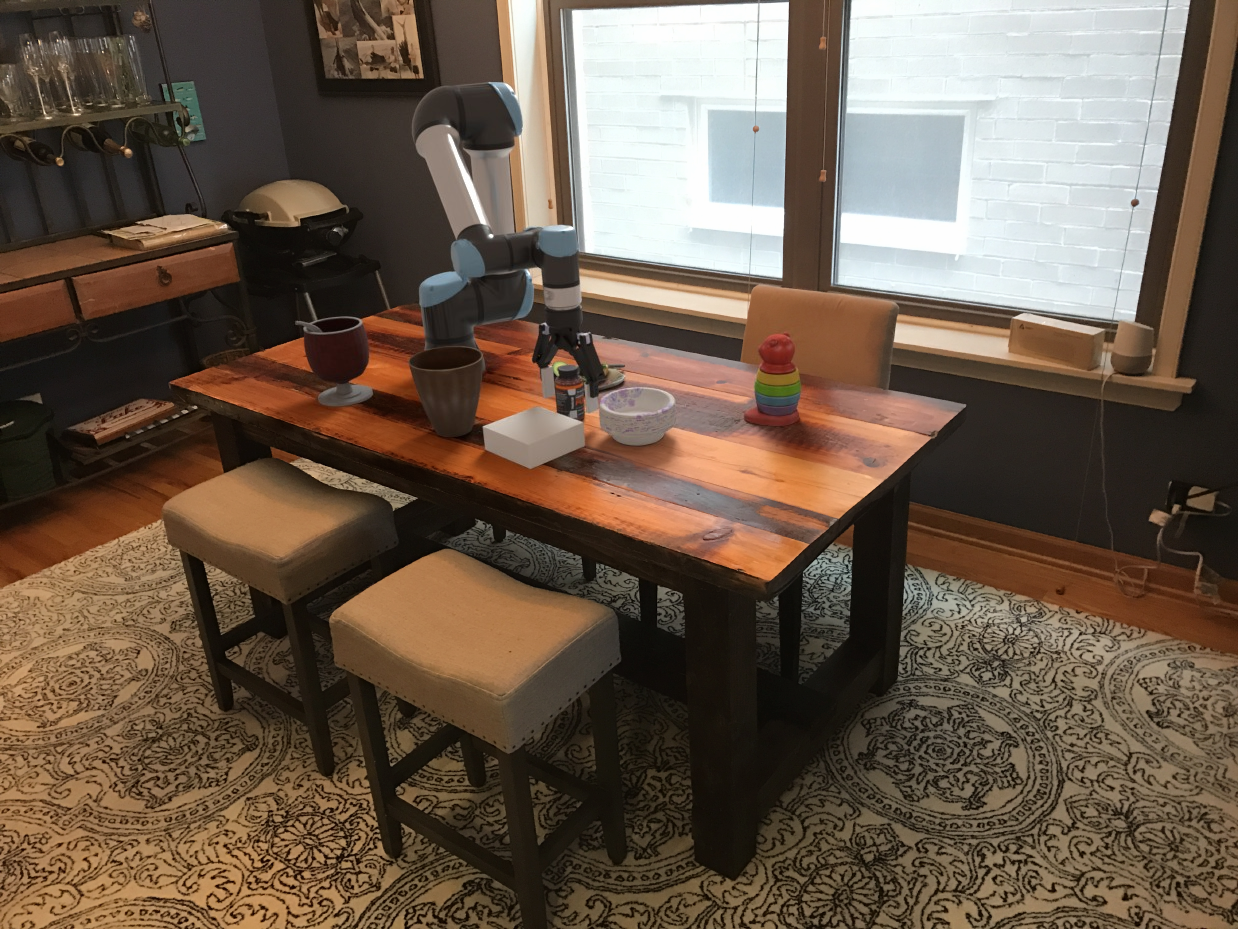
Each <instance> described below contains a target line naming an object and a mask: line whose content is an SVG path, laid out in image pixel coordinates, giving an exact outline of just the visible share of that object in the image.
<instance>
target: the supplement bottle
mask: <svg viewBox="0 0 1238 929" xmlns="http://www.w3.org/2000/svg"><path fill="white" fill-rule="evenodd" d="M577 366H578V365H574V364H568V365H563V366H560V367H559V368H558V374H559V376H558V377H557V378H556V379H555V395H554V396H555V405H556V409H555V410H556V413H559V414H561V415H564V416H567V417H570V418H573V419H575V420H578V421H582V420H583V419H585V417H586V416H585V415H586V414H585V413H586V406H585V394H584V390H583V379H582V377H581V376H580V375H579V374H578V368H577Z"/></svg>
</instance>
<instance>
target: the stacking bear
mask: <svg viewBox="0 0 1238 929" xmlns="http://www.w3.org/2000/svg"><path fill="white" fill-rule="evenodd" d="M795 351H796V346H795V342H794V341H793V340H792V338H791V336H790V334H789V333H788V332H787V331H784V332H783V333H782V334H781V333H775V334H771V335H769V336H767V337H766V338H765V339H764V341H763V342H762V343H761V344H760V345H759V346H758V350H757V352H758V355H759V357H760V359H761V360H762V362H760V364H759V366H758V370H757V373H756V378H755V380H754V387H753V388H754V392H753V393H754V397H755V404H756V407H753V408H750V409H748V410H747V411H746V412H744V415H743V419H744V421H745V422H749V423H751V424H755V425H760V426H767V425H768V426H769V427H784V426H788V425H792V424H795V423H796V422H798V421H799V419H800V412H799V410H798V405H799V401H800V399H801V394H802V382H801V379H800V371H799V369H798V367H797V366H796V364H795V363H794V362H793V358H794V356H795V353H796V352H795Z"/></svg>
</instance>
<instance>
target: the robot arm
mask: <svg viewBox="0 0 1238 929" xmlns="http://www.w3.org/2000/svg"><path fill="white" fill-rule="evenodd" d="M523 123H524V122H523V114H522V109H521V106H520V103H519V100H518V98H517V95H516V93H515V91H514V90H513V88H512V87H511V86H510V85H509V84H508V83H505V82H502V81H500V82H499V81H498V82H491V81H487V82H484V81H483V82H476V83H466V84H455V85H443V86H437V87H435V88H434V89H432V90H430V91H428V93H426V94H425V95H424V96H423V97H422V99H421V100H420V101H419V102H418V105H417V106H416V108H415V111H414V114H413V117H412V122H411V136H412V140H413V143H414V146H415V149H416V151H417V154H419V156H420V157H422V158H423V159H425V161H426V163H427V168H428V169H429V172H430V175H431V177H432V180H433V183H434V185H435V187H436V190H437V193H438V195H439V196H438V197H439V198H440V201H441V203H442V206H443V209H444V211H445V214H446V216H447V220H448V222H449V224H450V227H451V229H452V232H453V234H454V237H455V241H453V242H452V243H451V246H450V258H451V262H452V267H453V270H454V271H446V272H441V273H438V274H435V275H433V276H429V277H428V278H426V279H424V281H422V282H421V283H420V285H419V287H418V295H419V306H420V312H421V318H422V326H423V334H424V339H425V346H424V350H428V349H432V348H438V347H447V346H464V347H471V348H475V349H478V350H480V351H481V349H480V347H479V345H478V343H477V340H476V338H475V332H474V327H477V326H482V325H483V326H484V325H489V324H494V323H500V322H501V323H502V322H507V321H508V322H511V321H514V320H516V319H523V318H525V317H526V316H528V314H530V311H531V310H532V309H533V308H532V307H533V305H534V296H535V294H534V293H535V289H534V288H535V287H534V283H533V277H532V275H531V273H530V271H529V270H530V269H540V271H541V282H542V290H543V303H544V305H545V307H544V319H545V322H543V323H540V324H538V336H537V339H536V343H535V346H534V350H533V354H532V357H531V361H532V363H533V364H536V365H537V367H538V368H539V376H540V378H539V379H540V381H541V388H542V398H543V399H548V398H550V397H555V396H556V395H555V388H554V376H553V366H552V365H553V363H552V361H553V359H554V358H555V356H556V355H557V353H558V352H559V350H560V351H561V350H562V351H564V352H567V353H568V355H570V356H571V357H572V358H573V360H574V361H575V362H576V364H577V366H579V368H580V370H581V371H582V373H583V375H584V377H585V379H586V380H587V382H585V383H584V386H585V394H584V402H585V413H586V414H591V413H594V412H596V411H599V400H598V399H599V398H598V397H599V395H600V392H599V387H600V386H599V382H602V381H601V380H603V381H605V380H604V379H605V378H606V376H605V373H604V371H603V368H602V365H601V361H600V358H599V355H598V353H597V350H596V347H595V345H594V340H593V334H592V333H591V332H590V331H588V332H586V333H582V332H581V324H582V323H583V320H584V319H583V307H582V305H581V303H582V301H583V300H582V289H581V287H582V286H581V277H580V276H581V275H580V274H581V273H580V263H579V262H580V260H579V259H580V258H579V248H580V246H579V242H578V236H577V231H576V228H574V227H573V226H571V225H565V224H554V225H548V226H544V227H543V226H542V227H541V226H536V225H535V226H533V225H532V226H529V227H525V229H523V230H522V231H517V232H515V225H514V224H515V223H514V221H515V220H514V211H513V210H514V209H513V208H514V207H513V197H512V196H513V195H512V194H513V193H512V180H511V167H510V166H511V164H510V153H511V152H512V151H513V149H514V148H515V147H516V144H515V142H516V141H515V138H518V137H519V136H521V135H522V132H523V127H524V126H523V125H524V124H523ZM461 143H462V149H463V151H464V152H466V153H467V154H468V155H469V157H470V162H471V163H470V164H471V173H472V174H470V172H469V169H468V166H467V164H466V160H465V159H464V156H463V154H462V152H461V151H462V150H461V149H460V144H461ZM471 175H472V176H471ZM485 370H486V363H485V358H484V357H483V369H482V373H484V371H485ZM598 374H599V375H598ZM590 375H591V376H592V377H591V376H590Z"/></svg>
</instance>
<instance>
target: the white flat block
mask: <svg viewBox="0 0 1238 929" xmlns="http://www.w3.org/2000/svg"><path fill="white" fill-rule="evenodd" d="M482 432H483V440H484V449H485V451H487V452H490V453H491V454H494V455H496V456H499V457H501V458H503V459H506V460H508V461H510V462H513V463H516V464H517V465H520V466H522V467H525V468H527V469H529V470H531V469H534V468H536V467H538V466H541V465H543V464H545V463H547V462H550V461H554V460H555V459H557V458H560V457H562V456H565V455H567V454H570V453H571V452H573V451H576V450H579V449H581V448H584V447H585V446H586V440H585V423H584V422H583V421H582V420H580V421H578V420H575V419H573V418H570V417H567V416H564V415H561V414H559V413H557V411H556V412H555V411H553V410H550V409H547V408H544V407H541V406H540V405H536V406H534V407H532V408H531V407H530V408H528V409H525V410H522V411H520V412H517V413H515V414H513V415H510V416H507V417H504V418H502V419H501V418H500V419H498V420H496V421H494V422H491V423H488V424H486V425H483V426H482Z"/></svg>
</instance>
